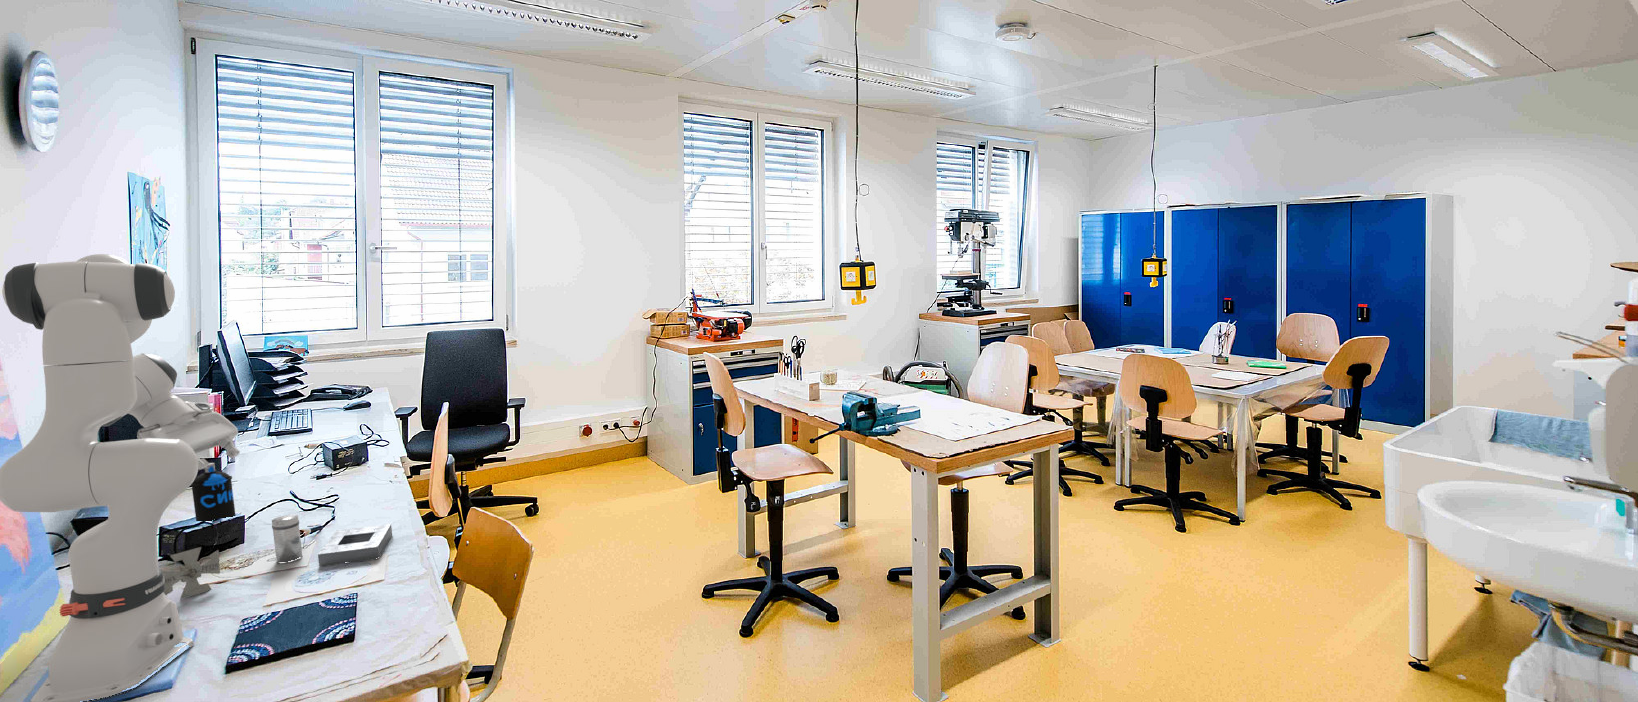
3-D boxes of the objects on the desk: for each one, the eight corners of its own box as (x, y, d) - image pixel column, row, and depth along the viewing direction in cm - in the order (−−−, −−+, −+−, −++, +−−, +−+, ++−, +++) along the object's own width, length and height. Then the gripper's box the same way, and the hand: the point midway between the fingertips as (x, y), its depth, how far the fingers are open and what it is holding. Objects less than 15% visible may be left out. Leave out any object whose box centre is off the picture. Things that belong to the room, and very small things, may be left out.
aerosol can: (191, 543, 186) (181, 466, 184) (229, 532, 194) (220, 457, 191) (207, 549, 182) (197, 470, 180) (246, 537, 190) (236, 461, 187)
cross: (219, 584, 162) (213, 540, 161) (225, 586, 161) (220, 542, 160) (160, 604, 153) (154, 557, 152) (166, 606, 152) (160, 560, 151)
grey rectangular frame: (378, 558, 175) (377, 546, 174) (319, 566, 171) (317, 554, 170) (392, 535, 190) (391, 524, 189) (337, 542, 186) (336, 530, 185)
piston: (299, 561, 174) (294, 520, 173) (272, 565, 172) (267, 523, 171) (305, 553, 179) (301, 513, 177) (280, 556, 177) (275, 516, 176)
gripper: (140, 421, 160) (193, 464, 161) (214, 401, 180) (260, 440, 182) (122, 441, 160) (174, 484, 162) (198, 420, 180) (244, 458, 182)
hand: (220, 461), depth 172 cm, fingers open, 8 cm apart
